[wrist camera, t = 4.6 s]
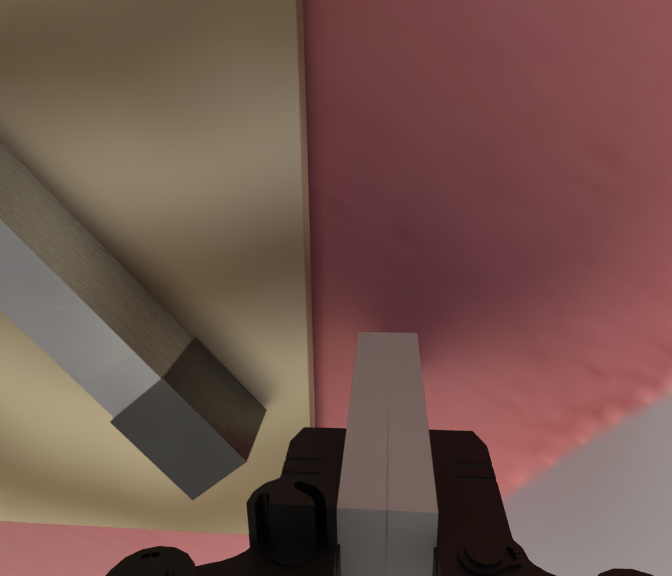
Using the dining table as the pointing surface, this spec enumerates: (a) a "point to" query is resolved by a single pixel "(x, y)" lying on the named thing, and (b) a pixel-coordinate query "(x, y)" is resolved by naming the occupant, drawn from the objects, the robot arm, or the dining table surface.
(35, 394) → the board
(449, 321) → the dining table surface
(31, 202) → the bar
